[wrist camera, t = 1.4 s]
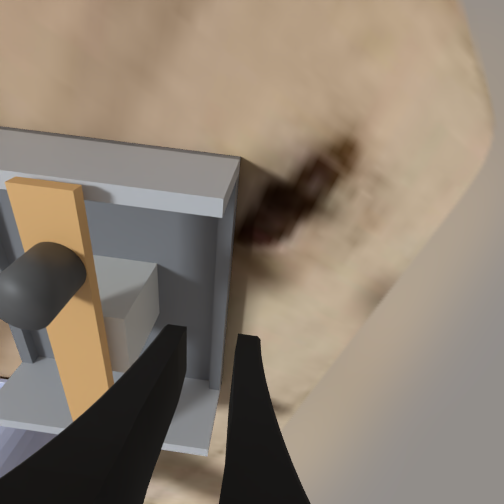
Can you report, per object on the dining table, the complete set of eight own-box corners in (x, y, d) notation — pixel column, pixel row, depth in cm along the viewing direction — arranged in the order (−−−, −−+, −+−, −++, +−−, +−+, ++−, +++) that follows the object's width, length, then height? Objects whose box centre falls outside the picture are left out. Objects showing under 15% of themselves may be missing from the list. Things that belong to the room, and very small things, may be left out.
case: (221, 383, 27) (207, 456, 23) (34, 357, 28) (-19, 423, 23) (240, 156, 18) (223, 198, 13) (-43, 120, 18) (-161, 149, 13)
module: (159, 312, 23) (130, 373, 19) (100, 304, 23) (59, 363, 19) (157, 263, 21) (124, 319, 17) (92, 254, 21) (43, 308, 17)
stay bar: (125, 450, 22) (104, 503, 20) (87, 445, 22) (61, 497, 20) (81, 185, 13) (30, 220, 10) (15, 176, 13) (-52, 209, 10)
